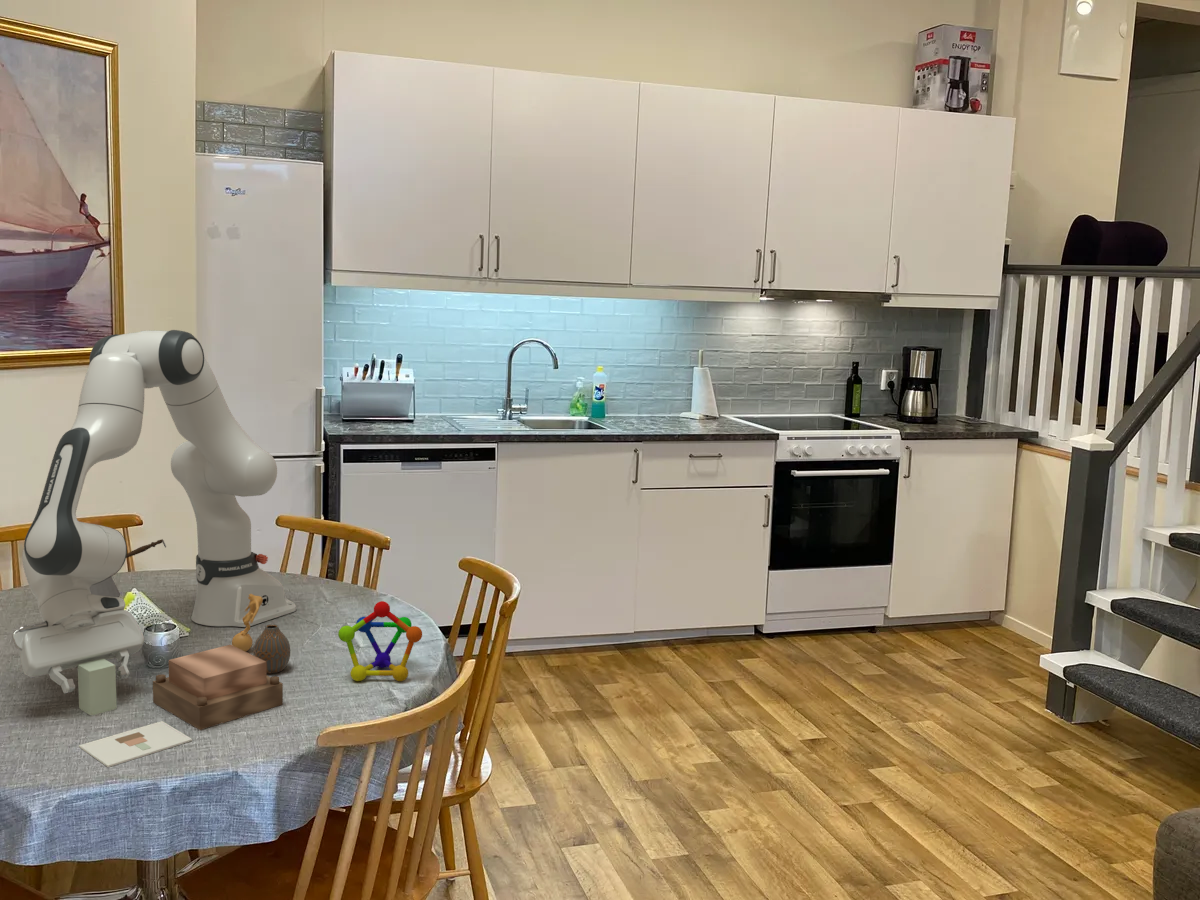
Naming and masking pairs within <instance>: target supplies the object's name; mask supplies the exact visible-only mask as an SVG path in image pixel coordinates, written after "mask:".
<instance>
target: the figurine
mask: <svg viewBox="0 0 1200 900" xmlns="http://www.w3.org/2000/svg"><path fill="white" fill-rule="evenodd" d="M248 599H250V602H249V605H248V607H247V608H246V609H245V612H246V611H247V610H248V608H249V607H250V611H249V612H248V613H247V614H246V615H245V616H244V617H243V619H242V620H243V622H244V625H246V627H244V629H243V630H241V631H240V632H238V633H236V634H235V635H234V636H233V637H232V639H231V645H232V646H234V647H237V648H239V649H241V650H243V651H245V652H247V651H249V650H250V649H251V647H252V646H253V638H252V636H251V635H250V634H249V633H248V632H249V631H250V630H251V626H250V624H251V623H250V622H253V620H254V617H255V616H256V614H257V612H258V610H259V607H260V606H261V604H262V601H263V599H262V597H260V596H255V595H253V594H249V597H248ZM250 620H251V621H250ZM249 621H250V622H249ZM249 623H250V624H249Z"/></svg>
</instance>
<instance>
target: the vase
mask: <svg viewBox="0 0 1200 900" xmlns="http://www.w3.org/2000/svg"><path fill="white" fill-rule="evenodd" d="M252 655H253V656H255V657H258V658H260V659H262V660H264V661H266V672H267V674H276V673H281V671H283V670H284V669H285V668H286V667H287V665H288V664H289V662H290V658H291V645H290V642H289V640H288V638H287V636H286V635H285V634H284V633H283V632H282V631H281V629H280V628H279V625H277V624H268V625H266V626H265V627H264V629H263V631H262V632H261V634H260V635H258V637H257V639H256V640H255V642H254V646H253V652H252Z"/></svg>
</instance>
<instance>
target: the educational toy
mask: <svg viewBox="0 0 1200 900" xmlns="http://www.w3.org/2000/svg"><path fill="white" fill-rule="evenodd" d="M376 618H387V619H389V620H391V621H374V620H375V619H376ZM372 628H396V630H397V631H395V634H394V636H393V637H392V639H391V641H390V642H389V644H388V646H387V647H386V649H385V651H383V652H382V650H381V647H379V645H378V642H377V641H376V638H375V636H374V635H373V633H372V631H371V629H372ZM356 632H360V633H365V635H366V637H367V638H368V639H367V640H369V642H370V645H371V646H372V648H373V651H374V652H375V654H376V655H375V657H374V661H373V662H371V663H369V664H367V665H366V666H364V665H362V664H359V659H358V657H357V653H356V650H355V648H354V643H353V640H354V638H355V635H356ZM337 634H338V638H339V640H340V641H342V642H345V643H346V645H347V649H348V652H349V655H350V659H351V661H352V665H353V667H352V668H351V669H350V672H349V673H350V677H351V679H352V680H353V681H354V682H362V681H363V680H365V679H366V678H367V677H370V676H371V677H379V676H380V677H383V676H384V677H392V678H393V679H394V680H395V681H396V682H403V681H405V680H407V678H408V676H409V669H408V667H407V664H408V661H409V658H410V655H411V652H412V650H413V647H414V644H415V643H417V642H420V641H421V639H422V637H423V631H422V629H421V627H419V626H417V625H413V624H412V620H411V619H410V618H408V617H406V616H401V617H398V616H397V615H395V614H394V613H392V612H391V606H390V604H389V603H388V602H386V601H383V600H382V601H377V602H376V603H375V604H374V607H373V612H371V613H370V614H368V615H366V616H360V617H359V618H358V619H357V620H356V622H355V624H354V625H352V626H351V625H344V626H341V627H340V628H339V630H338V633H337ZM402 634H405V637H406V639H407V641H408V643H407V645H406V648H405V651H404V654H403V657H402V660H401V662H400V664H398V665H394V664H393V663H392V662H391V659H392V658H391V656H390V654H391V653H392V650H393V649H394V647H395V646H396V644H397V642H398V640H399V638H400V637H401V636H402ZM376 667H377V668H379V669H382V670H376V669H375V668H376ZM386 668H388V669H389V670H387V669H386ZM373 669H375V670H373ZM383 669H384V670H383ZM385 669H386V670H385Z"/></svg>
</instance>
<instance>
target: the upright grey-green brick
mask: <svg viewBox="0 0 1200 900" xmlns="http://www.w3.org/2000/svg"><path fill="white" fill-rule="evenodd" d="M116 670H117V669H116V664H114V663H112V662H110V661H109V660H105V659H104V658H103V659H99V660H95V661H90V662H86V663H82V664H78V667H77V685H78V689H77V690H78V709H79V710H81V711H82V712H84V713H86V714H87V715H89V716H90V717H92V716H95V715H99V714H102V713H106V712H110V711H114V710H117V709H118V708H117V707H118V706H117V680H116V679H117V677H116V676H117V675H116Z"/></svg>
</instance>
